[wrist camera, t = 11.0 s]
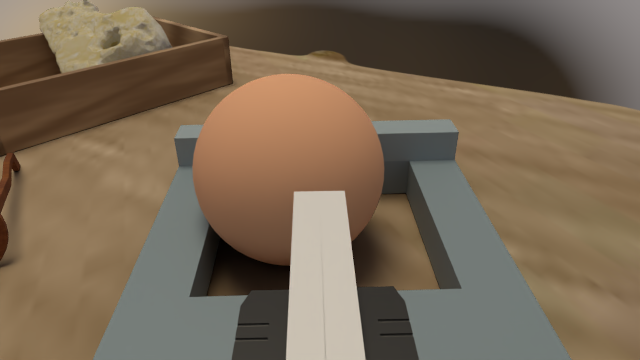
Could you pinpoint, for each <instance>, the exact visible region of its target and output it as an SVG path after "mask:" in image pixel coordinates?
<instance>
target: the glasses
mask: <svg viewBox="0 0 640 360" xmlns="http://www.w3.org/2000/svg"><path fill="white" fill-rule="evenodd" d="M12 169H13V171H19V170H20V164H19V162H18V160H17V159H16V157H15V155H14V153H7V155H6V157H5V160H4V162H3V174H2V179H1V182H0V213H1V211H2V208H3V206H4V203H5V200H6V198H7V195H8V193H9V190H10V187H11V170H12ZM7 244H8V229H7V225H6V223H5V221H4V219H3V217H2V215H1V214H0V260H1V259H2V257H3V255H4V253H5V251H6V249H7Z"/></svg>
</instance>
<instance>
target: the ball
mask: <svg viewBox="0 0 640 360" xmlns="http://www.w3.org/2000/svg"><path fill="white" fill-rule="evenodd" d="M192 168H193V183H194V188H195V193H196V196H197V199H198V202H199V205H200V208H201V210H202V212H203V214H204V216H205V218H206V219H207V221H208V222H209V224H210V225H211V227H212V228H213V229H214V231H215V232H216V233H217V234H218V235H219V236H220V237H221V238H222V239H223V240H224V241H225V242H226V243H228V244H229V245H230V246H231V247H233V248H234V249H236V250H237V251H239V252H241V253H242V254H244V255H246V256H248V257H250V258H253V259H256V260H259V261H262V262H265V263H269V264H275V265H291V244H292V223H293V202H294V192H300V191H345V197H346V205H347V213H348V222H349V230H350V238H351V242H352V241H353V240H354V239H355V238H356V237H357V236H358V235H359V234H360V233H361V231H362V230H363V229H364V228H365V227H366V225H367V224H368V222H369V221H370V219H371V218H372V216H373V214H374V211H375V209H376V207H377V205H378V202H379V199H380V196H381V193H382V187H383V182H384V158H383V152H382V148H381V143H380V141H379V138H378V135H377V132H376V130H375V128H374V126H373V124H372V122H371V120H370V119H369V117H368V116H367V114H366V113H365V112H364V110H363V109H362V108H361V107H360V106H359V105H358V104H357V102H356V101H355V100H354V99H352V98H351V97H350V96H349V95H348V94H346V93H345V92H344V91H342V90H341V89H339V88H337V87H336V86H334V85H332V84H330V83H328V82H325V81H323V80H321V79H317V78H314V77H311V76H305V75H299V74H279V75H271V76H267V77H263V78H259V79H256V80H254V81H251V82H249V83H246V84H245V85H243V86H241V87H239V88H237V89H236V90H234V91H233V92H232V93H230V94H229V95H228V96H226V97H225V98H224V99H223V100H222V101H221V102H220V103H219V104H218V105H217V106H216V107H215V109H214V110H213V111H212V113H211V114H210V115H209V117H208V118H207V120H206V122H205V124H204V125H203V127H202V129H201V132H200V134H199V137H198V139H197V142H196V147H195V151H194V156H193V166H192Z"/></svg>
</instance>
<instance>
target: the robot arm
mask: <svg viewBox="0 0 640 360" xmlns="http://www.w3.org/2000/svg"><path fill="white" fill-rule="evenodd" d="M237 324H238V326H237V329H236V336H235V342H234V348H233V354H232V360H419V357H418V353H417V349H416V345H415V340H414V337H413V332H412V328H411V324H410V322H409V315H408V311H407V307H406V303H405V300H404V299H403V298H402V297H401V295H400V294H399V293H398V292H397V290H396V289H395V288H394V287H393V286H389V287H357V286H356V278H355V270H354V262H353V254H352V246H351V238H350V230H349V222H348V213H347V205H346V197H345V191H300V192H294V202H293V223H292V244H291V265H290V285H289V290H251V292H250V293H249V294H248V296H247V297H246V299H245V300H244V302H243V303H242V304H241V306H240V311H239V317H238V323H237Z"/></svg>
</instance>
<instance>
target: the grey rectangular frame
mask: <svg viewBox="0 0 640 360" xmlns="http://www.w3.org/2000/svg"><path fill="white" fill-rule="evenodd" d="M371 122H372V124H373V126H374V128H375V130H376V132H377V135H378V138H379V141H380V143H381V148H382V152H383V158H384V182H383V187H382V193H381V194H392V193H406V194H407V197H408V200H409V203H410V206H411V208H412V211H413V214H414V217H415V220H416V222H417V225H418V228H419V231H420V234H421V236H422V239H423V242H424V245H425V248H426V250H427V253H428V256H429V259H430V262H431V264H432V267H433V270H434V273H435V276H436V278H437V281H438V284H439V287H440V289H434V290H402V291H397V292H398V293H399V294H400V295H401V297H402V298H403V299H404V300H405V303H406V307H407V311H408V315H409V322H410V324H411V328H412V332H413V337H414V340H415V345H416V349H417V353H418V357H419V360H571V358H570V356H569V355H568V353H567V351H566V349H565V348H564V346H563V344H562V343H561V341H560V339H559V337H558V336H557V334H556V332H555V331H554V329H553V327H552V326H551V324H550V322H549V320H548V319H547V317H546V315H545V314H544V312H543V310H542V308H541V307H540V305H539V303H538V302H537V300H536V298H535V296H534V295H533V293H532V291H531V290H530V288H529V286H528V284H527V283H526V281H525V279H524V278H523V276H522V274H521V273H520V271H519V269H518V267H517V266H516V264H515V262H514V261H513V259H512V257H511V255H510V254H509V252H508V250H507V249H506V247H505V245H504V243H503V242H502V240H501V238H500V237H499V235H498V233H497V232H496V230H495V228H494V226H493V225H492V223H491V221H490V220H489V218H488V216H487V214H486V213H485V211H484V209H483V208H482V206H481V204H480V202H479V201H478V199H477V197H476V196H475V194H474V192H473V191H472V189H471V187H470V185H469V184H468V182H467V180H466V179H465V177H464V175H463V173H462V172H461V170H460V168H459V167H458V165H457V163H456V161H455V153H456V146H457V140H458V133H459V132H458V130H457V129H456V127H455V126H454V124H453V123H452V121H451V120H406V121H371ZM202 127H203V125H181V126H180V128H179V130H178V132H177V134H176V136H175V138H174V140H175V146H176V151H177V157H178V163H179V168H178V170H177V172H176V175H175V177H174V179H173V181H172V183H171V186H170V188H169V190H168V192H167V195H166V197H165V199H164V201H163V204H162V206H161V208H160V210H159V213H158V215H157V217H156V219H155V222H154V224H153V226H152V228H151V230H150V233H149V235H148V237H147V239H146V242H145V244H144V246H143V248H142V251H141V253H140V255H139V257H138V260H137V262H136V264H135V266H134V269H133V271H132V273H131V275H130V278H129V280H128V282H127V284H126V286H125V289H124V291H123V293H122V295H121V298H120V300H119V302H118V304H117V307H116V309H115V311H114V313H113V316H112V318H111V320H110V322H109V325H108V327H107V329H106V331H105V333H104V336H103V338H102V340H101V342H100V345H99V347H98V349H97V351H96V354H95V356H94V358H93V360H232V354H233V348H234V342H235V336H236V329H237V326H238V324H237V323H238V317H239V311H240V306H241V304H242V303H243V302H244V300H245V299H246V297H247V296H248V295H241V296H209V297H207V292H208V288H209V284H210V279H211V275H212V271H213V267H214V262H215V258H216V254H217V249H218V245H219V241H220V236H219V235H218V234H217V233H216V232H215V231H214V229H213V228H212V227H211V225H210V224H209V222H208V221H207V219H206V218H205V216H204V214H203V212H202V210H201V208H200V205H199V202H198V199H197V196H196V193H195V188H194V183H193V168H192V166H193V156H194V151H195V147H196V142H197V139H198V137H199V134H200V132H201V129H202Z"/></svg>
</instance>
